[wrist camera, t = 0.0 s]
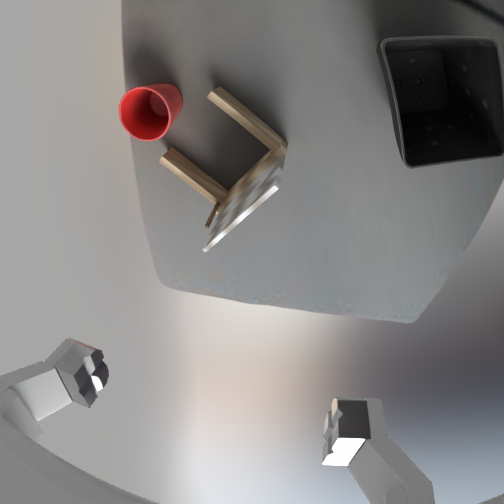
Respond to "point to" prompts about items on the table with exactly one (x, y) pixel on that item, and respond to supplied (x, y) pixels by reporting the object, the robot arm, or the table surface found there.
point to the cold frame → (249, 186)
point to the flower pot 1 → (150, 110)
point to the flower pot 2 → (445, 98)
